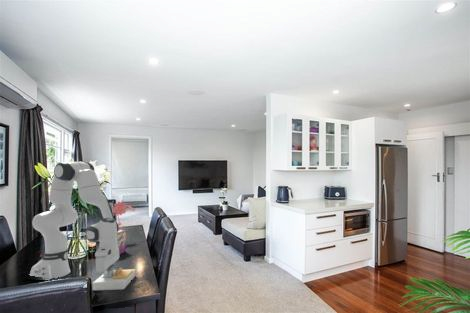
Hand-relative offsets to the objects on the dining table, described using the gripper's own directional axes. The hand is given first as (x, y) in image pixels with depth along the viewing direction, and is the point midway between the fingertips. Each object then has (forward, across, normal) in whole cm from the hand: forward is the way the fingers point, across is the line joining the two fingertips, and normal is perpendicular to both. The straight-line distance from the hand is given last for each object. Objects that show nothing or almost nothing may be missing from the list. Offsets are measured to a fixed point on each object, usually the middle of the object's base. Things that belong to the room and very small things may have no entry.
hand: (108, 273), depth 142 cm
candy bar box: (+5, -50, -16) cm, 53 cm away
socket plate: (+5, 0, +4) cm, 6 cm away
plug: (+3, 0, 0) cm, 3 cm away
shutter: (+1, 0, +8) cm, 8 cm away
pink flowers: (+5, -83, -29) cm, 88 cm away
